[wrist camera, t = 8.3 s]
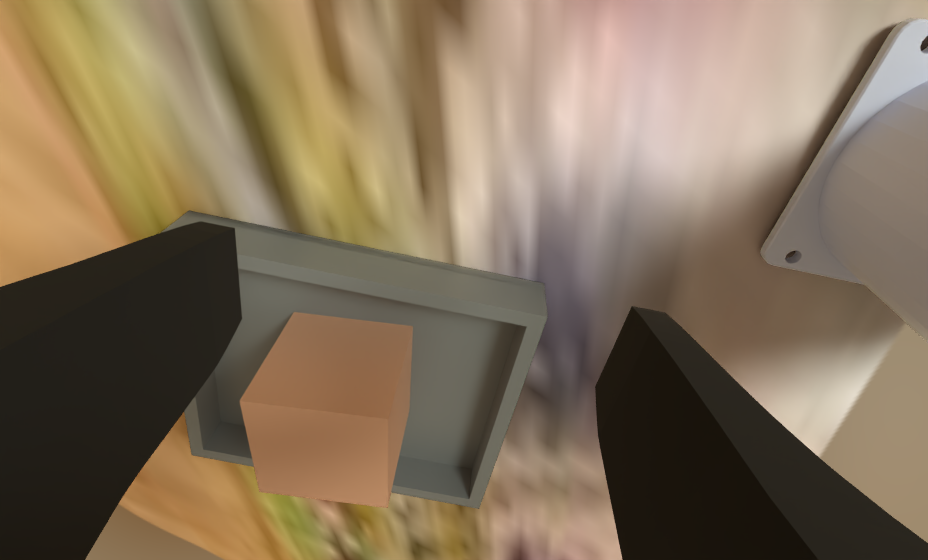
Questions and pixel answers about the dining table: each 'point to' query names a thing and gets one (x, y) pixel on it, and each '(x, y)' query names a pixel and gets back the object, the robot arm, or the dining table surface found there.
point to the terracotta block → (330, 409)
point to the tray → (388, 301)
